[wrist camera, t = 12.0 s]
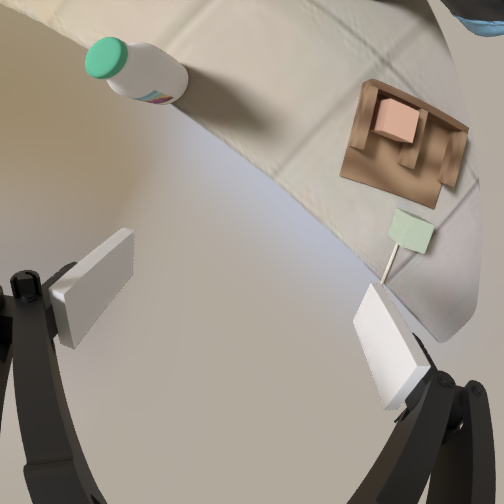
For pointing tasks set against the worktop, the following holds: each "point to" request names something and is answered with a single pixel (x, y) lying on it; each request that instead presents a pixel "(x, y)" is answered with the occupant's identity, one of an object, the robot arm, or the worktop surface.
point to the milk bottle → (137, 70)
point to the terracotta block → (394, 120)
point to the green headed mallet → (408, 234)
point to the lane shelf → (404, 149)
